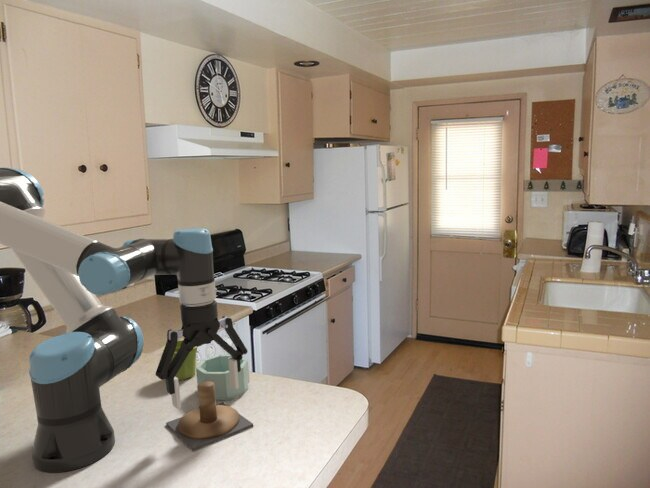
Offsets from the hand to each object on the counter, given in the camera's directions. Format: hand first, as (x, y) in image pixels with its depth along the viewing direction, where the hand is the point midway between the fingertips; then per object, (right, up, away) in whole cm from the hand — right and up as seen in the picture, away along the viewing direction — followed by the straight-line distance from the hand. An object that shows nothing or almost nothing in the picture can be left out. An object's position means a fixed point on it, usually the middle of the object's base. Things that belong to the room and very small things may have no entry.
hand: (206, 396), depth 111 cm
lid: (0, -6, +1) cm, 6 cm away
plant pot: (-13, -3, +29) cm, 32 cm away
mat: (0, -7, +1) cm, 7 cm away
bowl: (0, -4, +19) cm, 19 cm away
